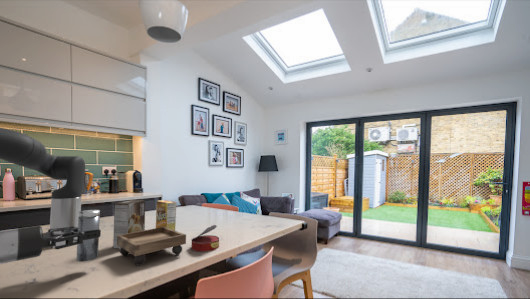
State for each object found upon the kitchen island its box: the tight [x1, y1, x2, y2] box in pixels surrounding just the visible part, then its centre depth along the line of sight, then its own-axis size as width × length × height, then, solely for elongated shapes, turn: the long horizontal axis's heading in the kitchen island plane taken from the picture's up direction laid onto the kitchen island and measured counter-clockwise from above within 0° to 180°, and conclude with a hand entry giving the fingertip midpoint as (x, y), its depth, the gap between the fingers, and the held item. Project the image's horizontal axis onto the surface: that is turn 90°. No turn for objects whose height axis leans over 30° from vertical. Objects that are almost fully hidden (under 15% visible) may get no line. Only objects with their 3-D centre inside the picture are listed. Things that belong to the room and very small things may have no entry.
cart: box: [117, 227, 187, 266], centre depth 84 cm, size 16×16×6 cm
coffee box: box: [112, 199, 146, 249], centre depth 95 cm, size 9×6×16 cm
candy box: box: [155, 199, 177, 231], centre depth 101 cm, size 9×4×15 cm, turn 50°
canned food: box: [191, 224, 220, 252], centre depth 92 cm, size 11×10×10 cm
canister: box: [75, 209, 101, 262], centre depth 71 cm, size 5×5×13 cm
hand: (97, 231), depth 73 cm, fingers closed on canister, 5 cm apart
